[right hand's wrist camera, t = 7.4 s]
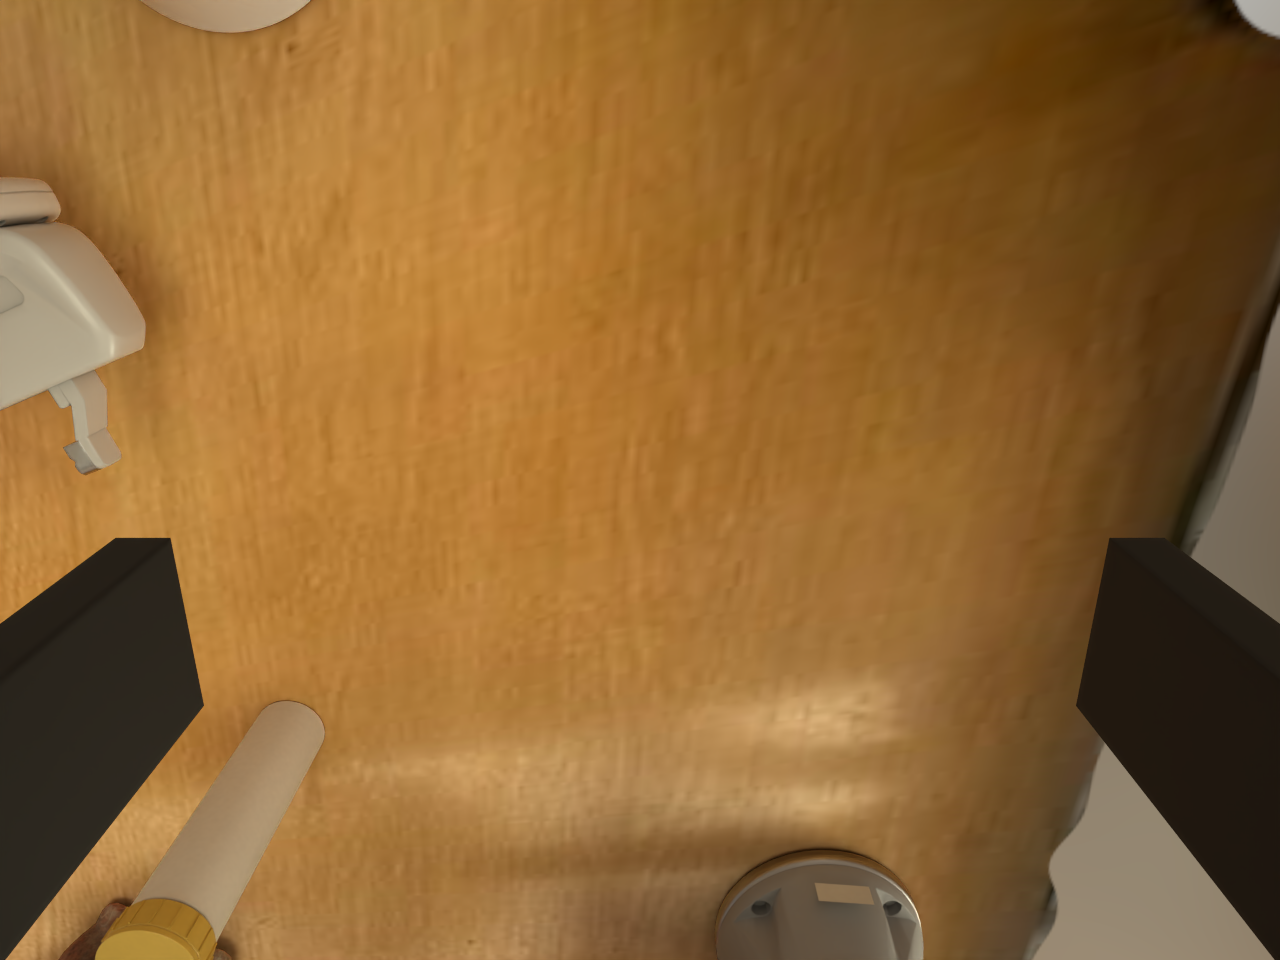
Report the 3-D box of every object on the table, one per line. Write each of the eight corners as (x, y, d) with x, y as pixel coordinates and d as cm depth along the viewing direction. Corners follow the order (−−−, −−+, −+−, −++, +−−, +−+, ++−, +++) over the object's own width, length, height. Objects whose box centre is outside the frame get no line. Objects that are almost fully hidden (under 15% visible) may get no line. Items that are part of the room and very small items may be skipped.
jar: (338, 726, 62) (217, 959, 44) (299, 768, 63) (167, 1010, 45) (281, 688, 61) (134, 910, 43) (243, 731, 62) (85, 964, 44)
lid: (236, 932, 46) (219, 966, 44) (183, 987, 47) (164, 1023, 45) (149, 880, 44) (127, 913, 42) (97, 938, 46) (74, 972, 44)
